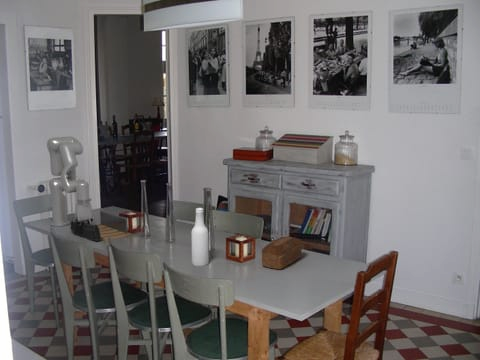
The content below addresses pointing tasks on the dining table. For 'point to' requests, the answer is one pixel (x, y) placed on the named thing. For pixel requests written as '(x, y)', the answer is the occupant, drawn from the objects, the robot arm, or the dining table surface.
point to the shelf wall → (113, 221)
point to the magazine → (86, 231)
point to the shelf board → (110, 233)
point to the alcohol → (199, 240)
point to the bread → (281, 252)
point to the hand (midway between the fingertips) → (84, 230)
